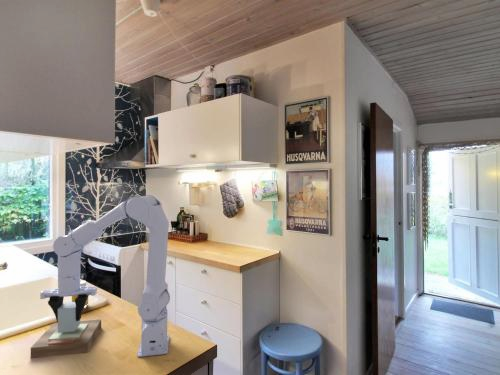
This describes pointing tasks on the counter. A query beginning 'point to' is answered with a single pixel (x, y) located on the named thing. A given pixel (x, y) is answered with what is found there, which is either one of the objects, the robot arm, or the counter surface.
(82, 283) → the supplement bottle
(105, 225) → the robot arm
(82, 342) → the walnut stand
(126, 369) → the counter surface
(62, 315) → the slate block
